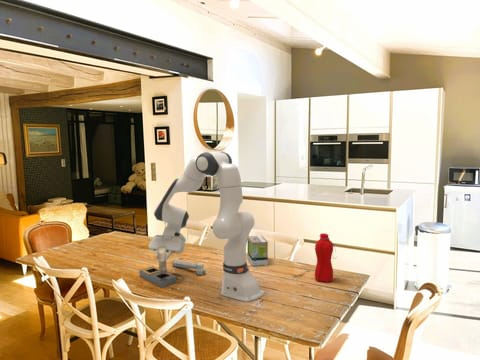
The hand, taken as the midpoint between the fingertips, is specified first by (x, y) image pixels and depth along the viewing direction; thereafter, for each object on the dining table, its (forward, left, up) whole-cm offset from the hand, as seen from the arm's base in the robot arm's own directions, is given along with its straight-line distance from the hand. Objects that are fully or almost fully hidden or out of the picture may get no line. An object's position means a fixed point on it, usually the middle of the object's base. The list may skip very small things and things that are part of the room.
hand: (161, 258), depth 193 cm
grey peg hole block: (+6, -1, -13) cm, 15 cm away
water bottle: (-61, -63, -13) cm, 88 cm away
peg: (0, -1, -8) cm, 8 cm away
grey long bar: (+5, -21, -14) cm, 25 cm away
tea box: (-15, -59, -14) cm, 62 cm away
